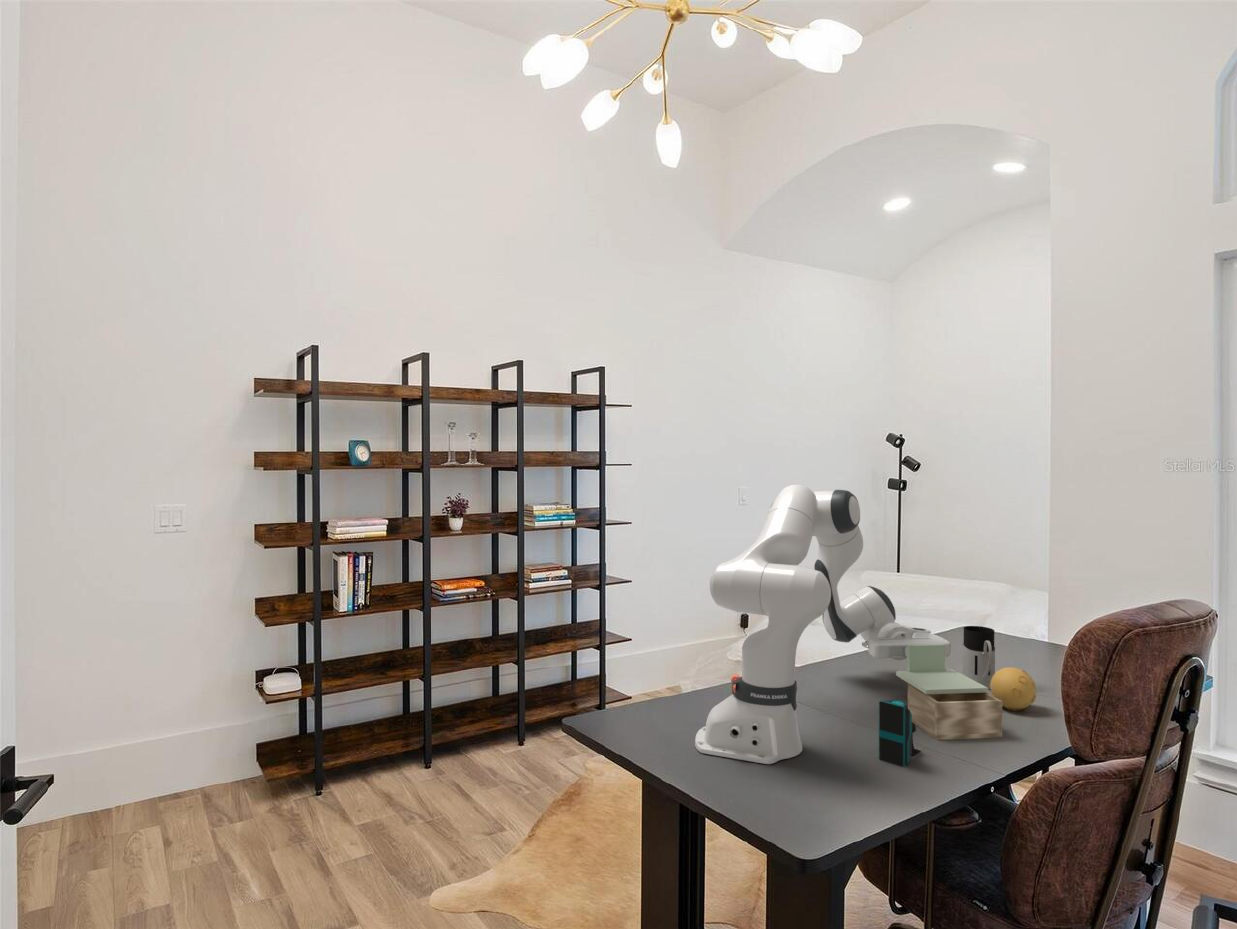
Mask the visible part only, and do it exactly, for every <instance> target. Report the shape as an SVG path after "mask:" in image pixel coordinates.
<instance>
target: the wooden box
mask: <svg viewBox="0 0 1237 929" xmlns="http://www.w3.org/2000/svg"><path fill="white" fill-rule="evenodd" d="M907 703H908V709H909V710H910V712H911V714H912V722H913V723H914V724H915V726H916V727H917V726H918V727H919V728H920V729H922V730H923V731H924V732H925V733H926V734H928V735H929V736H931V737H932V738H934V739H935V740H937V741H940V740H941V741H942V740H946V741H947V740H964V739H965V740H967V739H969V740H970V739H971V740H972V739H990V738H991V739H993V738H994V739H995V738H1003V706H1002V701H1001V700H999V699H998V698H996V697H994V696H993V695H992V694H991V693H988V692H982V693H953V694H925V693H923V692H922V691H920V690H918V689H917V688H915V687H914V686H912V685H911V684H909V683H907Z"/></svg>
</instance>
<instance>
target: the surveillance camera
mask: <svg viewBox="0 0 1237 929" xmlns="http://www.w3.org/2000/svg"><path fill="white" fill-rule="evenodd" d="M916 731H917V725H916V724H915V723H913V722H912V714H911V712H910V710H909V709H908V701H903V700H900V699H890V700H888V701H886V700H879V701H878V759H879V761H882V762H884V763H885V762H886V763H889V764H892V765H895V766H898V767H900V768H901V767H906V766H907V765H908V764H909V762H910V756H911V757H915V756H916V755H918V754H919V753H920V752H921V750H920V749H917V748H915V746H914V733H915V732H916Z"/></svg>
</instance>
